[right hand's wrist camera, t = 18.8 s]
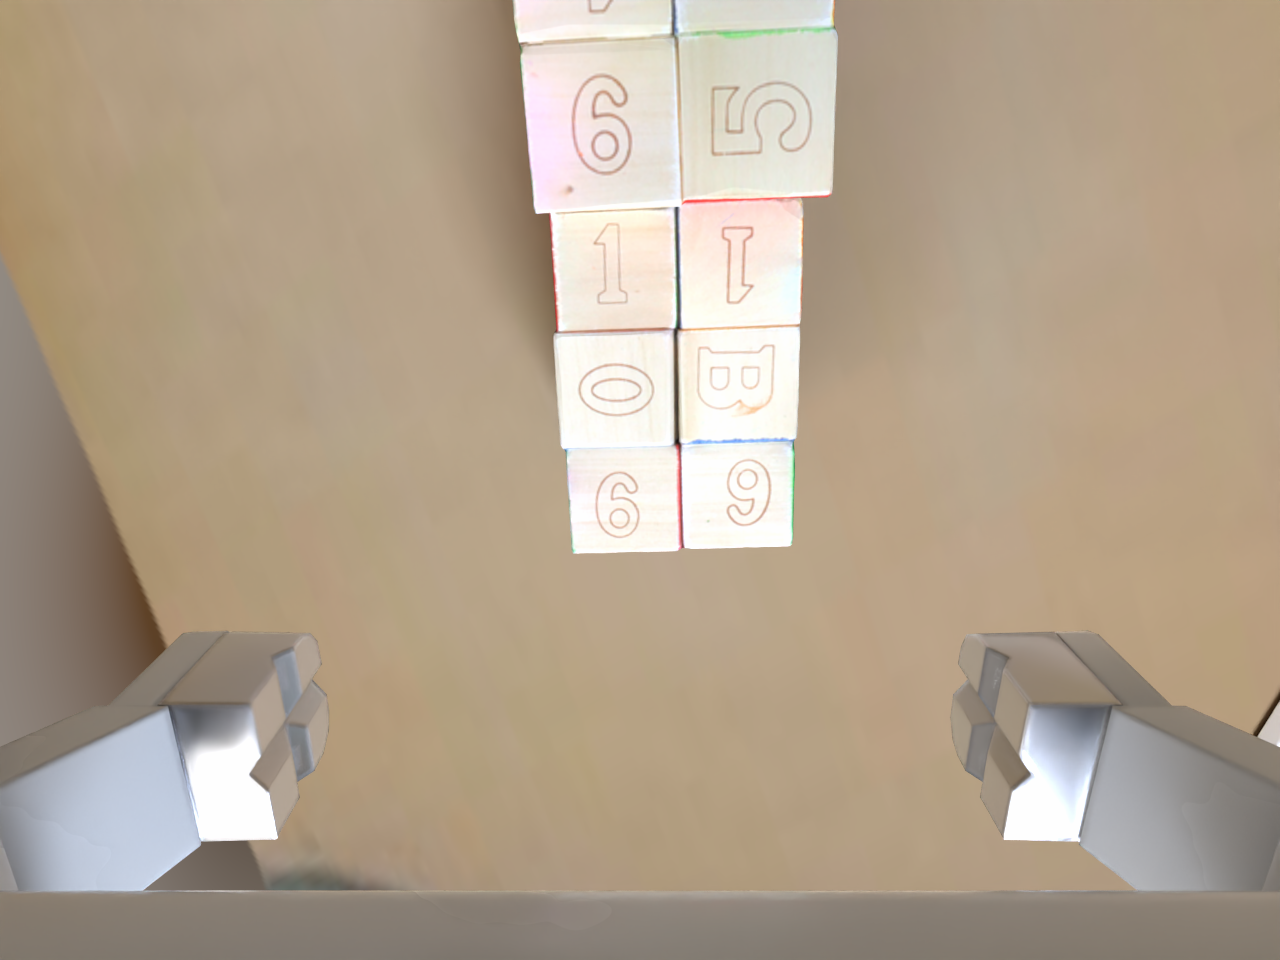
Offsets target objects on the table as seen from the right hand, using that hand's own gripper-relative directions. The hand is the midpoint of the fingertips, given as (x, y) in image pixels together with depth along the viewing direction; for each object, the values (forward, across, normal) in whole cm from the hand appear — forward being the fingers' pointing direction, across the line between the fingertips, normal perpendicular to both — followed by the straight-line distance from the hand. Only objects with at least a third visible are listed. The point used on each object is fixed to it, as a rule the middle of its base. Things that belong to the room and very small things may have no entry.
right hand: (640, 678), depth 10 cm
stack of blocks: (+20, -1, -7) cm, 22 cm away
